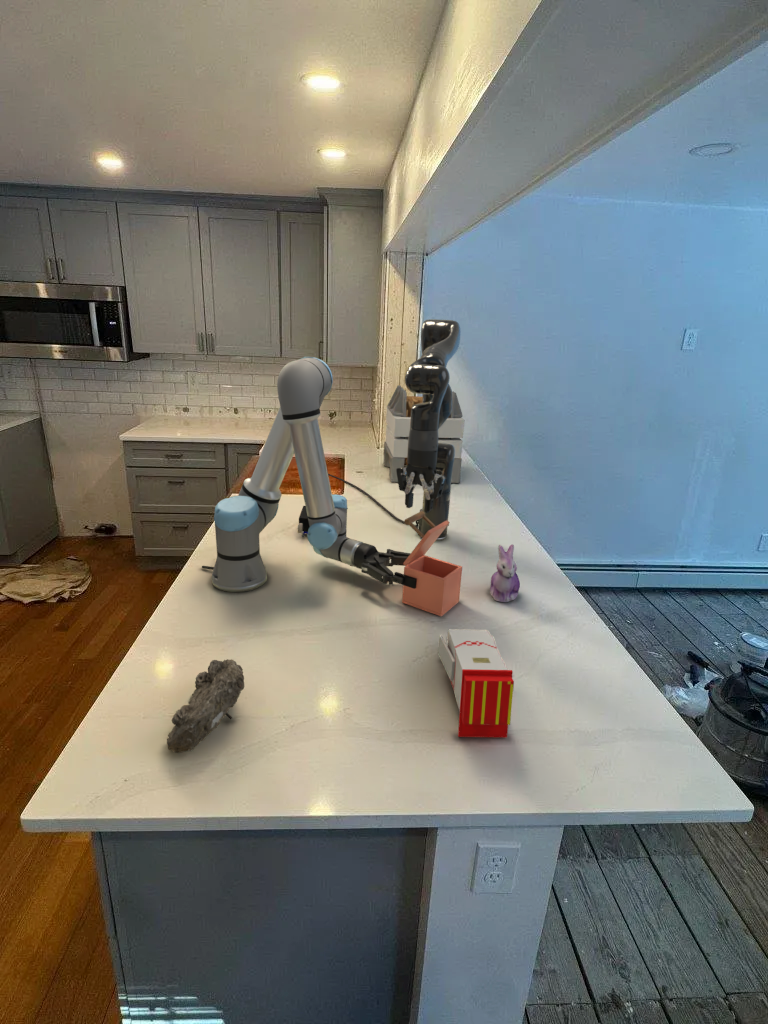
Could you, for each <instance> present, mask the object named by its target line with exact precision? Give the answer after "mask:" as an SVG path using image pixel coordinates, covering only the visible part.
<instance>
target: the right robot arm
mask: <svg viewBox="0 0 768 1024" xmlns="http://www.w3.org/2000/svg"><path fill="white" fill-rule="evenodd" d="M461 331H462V330H461V325H460V324H459V322H458V321H457V320H454V319H435V318H430V319H429V318H428V319H425V320H423V323H422V325H421V330H420V347H421V356H420V358H418V359H416V360H415V361H413V362H412V363H411V364H410V365H409V367H408V368H407V370H406V372H405V376H404V385H405V387H406V390H408V391H409V392H410V393H412V394H415V395H416V394H417V395H421V397H422V403H419V404H415V405H413V406H412V408H411V420H410V431H409V437H408V453H407V463H408V465H406V467H405V466H404V467H400V468H397V469H396V471H397V478H398V482H397V484H398V485H397V486H398V489H399V491H401V492H403V493H404V494H405V495H404V506H405V508H406V509H411V508H412V507H413V506H414V493H413V492H414V491H415V489H416V486H417V485H419V486H420V487H422V491H423V493H422V496H423V497H422V506H421V508H420V509H419V512H421V511H423V512H424V513H425V516H426V517H427V518H428V519H429V520H430V521H431V522H432V523H433V524H434V525H435V526H437V525H439V524H441V523H443V522H444V521H446V520H448V521H449V517H450V516H449V514H450V504H451V494H452V493H451V491H452V483H451V480H452V471H453V464H454V457H455V449H454V446H453V445H452V444H444V443H438V429H439V428H440V427H441V426H442V425H443V423H444V422H445V421H446V420H447V419H448V417H449V415H450V413H451V411H452V392H453V390H452V386H451V385H450V379H451V378H450V372H449V370H448V367H447V366H448V362H449V361H450V360H451V359H452V358H453V357H454V355H455V354H456V353H457V351H458V349H459V347H460V344H461V335H462V334H461ZM440 471H443V473H442V474H441V473H440V474H439V473H438V472H440ZM328 476H329V477H331V478H334V479H336V480H338V481H341V482H344V483H346V484H348V485H349V486H352V487H354V488H355V489H357V490H359V491H360V492H362V493H363V494H365V495H366V496H367V497H369V498H370V499H371V500H372V501H374V503H376V505H378V506H379V507H380V508H381V509H383V510H384V512H386V513H387V514H389V515H390V516H391V517H392V518H393V519H395V520H396V521H398V522H400V523H402V524H404V525H406V524H405V522H404V521H405V520H402V519H400V518H399V517H397V516H395V514H393V513H392V512H391V511H390V510H388V509H387V508H386V507H384V505H382V504H381V503H380V502H379V501H377V499H375V498H374V497H373V496H372V495H370V494H369V493H367V492H366V491H365V490H363V489H362V488H360V487H359V486H357V485H355V484H353V483H351V482H349V481H347V480H345V479H343V478H341V477H338V476H335V475H333V474H330V473H328ZM407 476H408V479H407ZM414 525H415V526H416V527H417V528H418V529H419V530H420V531H421V532H422V533H423V534H424V535H425V534H426V533H427V532H428V531H429V530H430V529H432V527H431V526H430V525H429V524H428V523H427V522H426V521H425V520H424V519H423V518H421V519H419V520H417V521H415V524H414ZM449 526H450V523H449V524H448V526H447V527H446V528H445V529H444V531H443V532H442V533H441V534H440V536H439V537H438V538H437V540H436V541H435V542H440V541H444V540H446V539H447V538H448V527H449ZM417 535H418V536H420V535H419V534H418V533H417ZM420 537H421V536H420Z"/></svg>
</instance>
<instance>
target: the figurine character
mask: <svg viewBox="0 0 768 1024" xmlns="http://www.w3.org/2000/svg"><path fill="white" fill-rule="evenodd" d="M309 528H310V526H309V520H308V515H307V511H306V506H305V505H302V509H301V511H300V514H299V517H298V525H297V533H298V534H301V538H305V536H306V535H307V534H308V529H309ZM305 534H306V535H305Z"/></svg>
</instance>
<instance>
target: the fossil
mask: <svg viewBox="0 0 768 1024" xmlns="http://www.w3.org/2000/svg"><path fill="white" fill-rule="evenodd" d="M243 670H244V669H243V667H242V665H240V664H237V662H236V661H235V660H234V659H232V658H231V659H227V658H226V659H224V660H223V661H222V660H217V659H212V660H211V661H210V663H209V665H208V666H207V671H201V672H199V673H198V674H197V675H196V676H195V680H194V684H195V685H194V687H195V689H194V690H193V693H192V694H191V697H190V698H189V700H188V704H184V705H182V706H181V707H180V709H177V710H176V711H175V713H174V715H173V716H172V718H171V723H172V724H173V727H172V730H171V731H170V732H168V734H167V738H166V741H167V742H166V745H167V749H168V750H169V751H173V752H174V753H176V754H178V753H182V752H188V751H189V752H192V751H193V750H195V748H196V747H197V746H199V744H200V743H201V742H203V741H204V740H205V739H206V738H207V737H208V736H209V735H210V734H211V733H212V732H214V730H215V729H217V727H218V726H219V724H220V722H221V721H222V720H223V719H224V718H225V716H226V717H227V719H229V720H233V717H232V715H230V714H229V710H230V709H231V708H234V706H235V704H236V703H237V702H238V699H239V697H240V695H241V693H242V691H243V690H245V689H244V688H245V675H244V671H243Z"/></svg>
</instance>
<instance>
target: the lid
mask: <svg viewBox="0 0 768 1024" xmlns="http://www.w3.org/2000/svg"><path fill="white" fill-rule="evenodd" d="M421 518H423V519H424V520H425V521H426V522H427V523H428V524H429V525H430V526H431V527H432V529H430V530H429V531H428V532H427V533H426V534H425V535H424V534H423V533H422V532H421V531H420V530H419V527H416V526H415V525H416V524H414V523H416V521H417V520H419V519H421ZM403 521H404V522H405V524H404V525H406V526H409V527H410V528H411V529H412V530H413V531H414V532H416V534H417V535H418V534H419V535H420V538H421V540H419V542H418V543H417V545H416V546H415V547H414V548H413V549H412V551H411V552H410V553H411V554H410V555H409V556H408V558H407V559H406V560H405V562H404V563H403V564H404V565H405V566H407V565H409V564H410V563H412V562H413V561H415V560H417V559H418V558H420V557H421V556H423V555H426V554H427V552H428V551H429V550H430V549H431V547H433V545H434V543H436V542H437V541H436V540H437V538H438V537H439V536H440V534H441V533H442V532H443V531H444V529H445V528H446V527H447V526H448V524H449V525H450V521H449V519H448V520H446V521H444V522H443V523H441V524H439V525H437V526H435V525H434V524H433V523H432V522H431V521H430V520H429V519H428V518H427V517H426V516H425V513H424V512H423V511H421V512H420V511H419V512H417V513H415V514H413V515H410V516H409V517H406V518H405V519H404V520H403ZM448 527H449V526H448ZM448 527H447V528H448ZM419 535H418V536H419ZM405 566H404V567H405Z"/></svg>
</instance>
